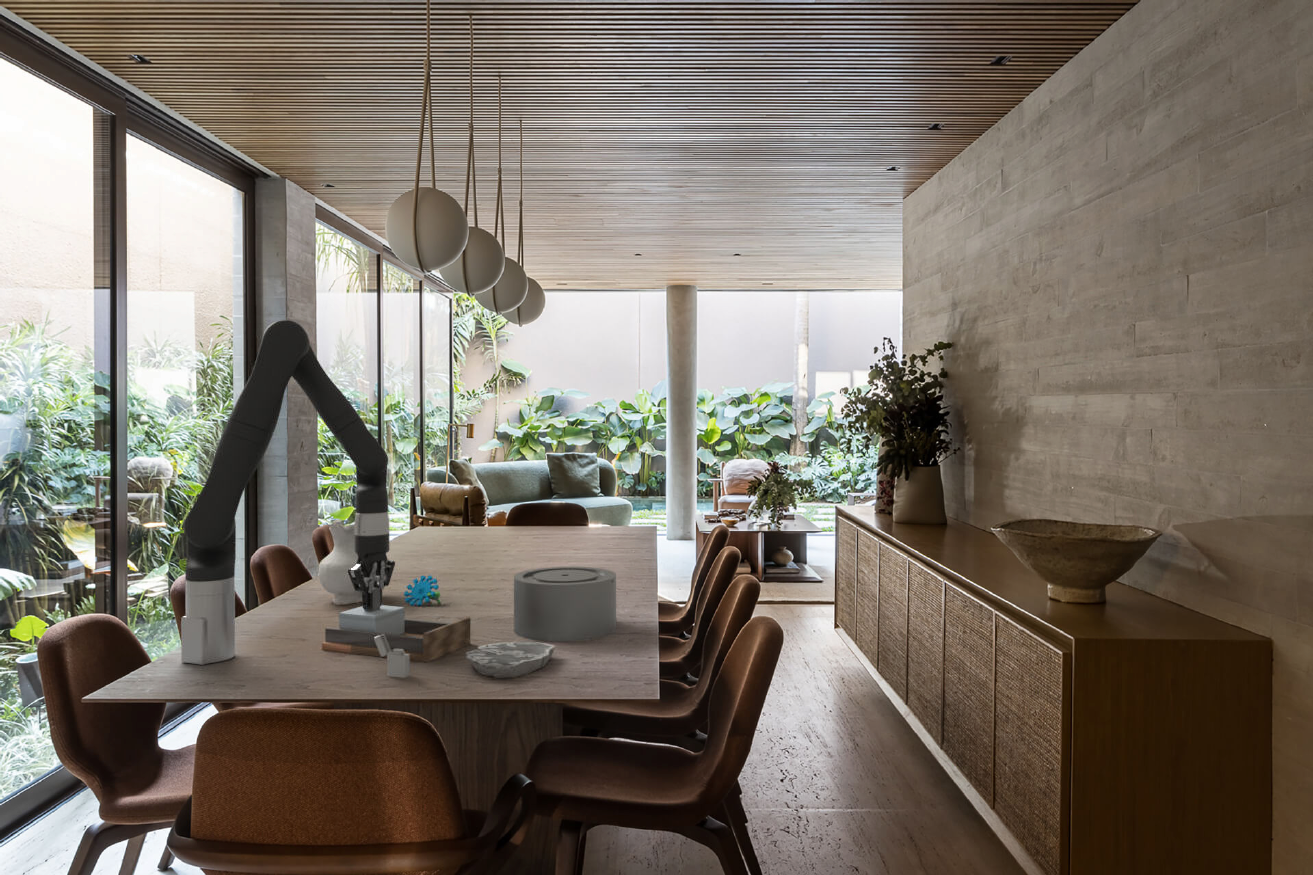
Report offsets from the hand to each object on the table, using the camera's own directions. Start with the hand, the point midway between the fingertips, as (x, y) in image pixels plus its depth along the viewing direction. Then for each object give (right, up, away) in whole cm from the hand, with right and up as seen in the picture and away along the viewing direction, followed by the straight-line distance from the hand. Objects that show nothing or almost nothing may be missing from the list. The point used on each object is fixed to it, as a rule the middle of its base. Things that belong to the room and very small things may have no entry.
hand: (372, 607), depth 185 cm
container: (+42, -9, +14) cm, 46 cm away
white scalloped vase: (-22, -8, +49) cm, 54 cm away
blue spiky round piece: (-1, -8, +43) cm, 44 cm away
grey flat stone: (+34, -9, -17) cm, 39 cm away
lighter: (+12, -9, -24) cm, 28 cm away
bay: (+6, -8, -2) cm, 11 cm away
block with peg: (0, -7, 0) cm, 7 cm away
